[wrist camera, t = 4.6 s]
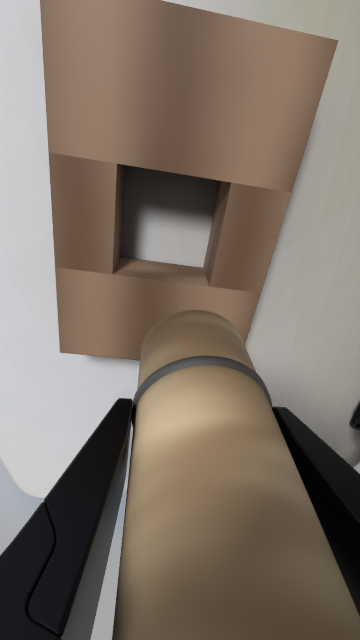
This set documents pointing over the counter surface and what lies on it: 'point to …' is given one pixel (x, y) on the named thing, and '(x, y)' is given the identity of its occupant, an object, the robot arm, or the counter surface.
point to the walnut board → (169, 155)
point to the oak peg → (218, 504)
